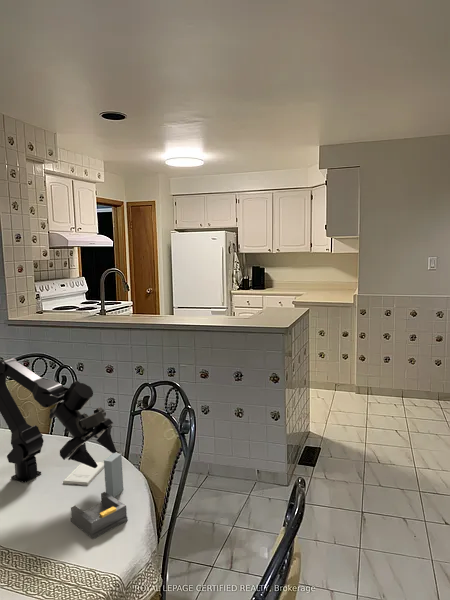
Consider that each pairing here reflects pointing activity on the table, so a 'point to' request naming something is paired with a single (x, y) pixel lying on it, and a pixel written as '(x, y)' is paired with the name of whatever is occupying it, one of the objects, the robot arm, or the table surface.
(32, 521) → the table surface
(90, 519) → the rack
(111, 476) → the block
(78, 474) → the external hard drive
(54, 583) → the table surface
